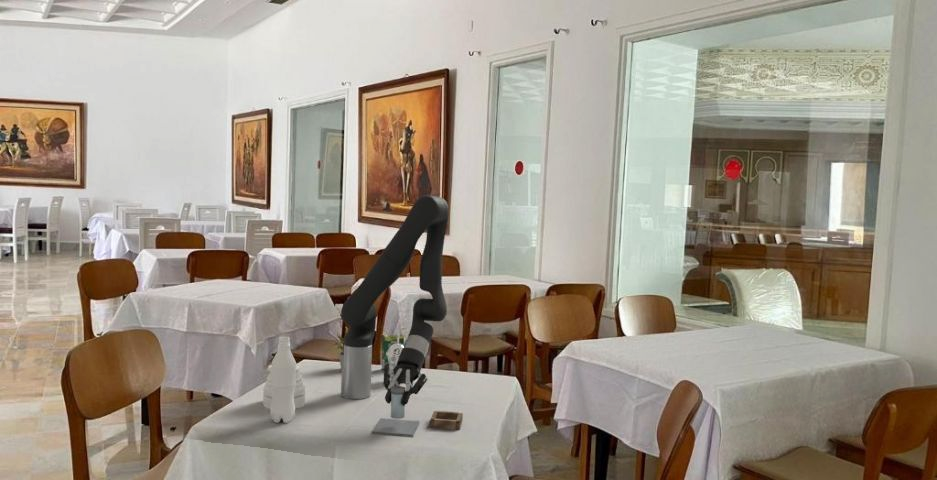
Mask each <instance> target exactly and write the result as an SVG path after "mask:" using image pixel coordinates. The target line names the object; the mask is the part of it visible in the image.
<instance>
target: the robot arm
mask: <svg viewBox="0 0 937 480" xmlns="http://www.w3.org/2000/svg"><path fill="white" fill-rule="evenodd" d="M449 209H450V208H449V205H448V202H447V201H446V200H445V199H444V198H443V197H442V196H441V197H440V196H438V195H437V196H436V195H430V194H426V195H421V196H420V197H418V199H417V200H415V202H414V204H412V206H411V209H410V210H409V212H408V214H407V216H406V218H405V219H404V221H403V222H402V224H401V226H400V228H399V229H398V230H397V231H396V233H395V234H394V235H393V237H392V238H391V240H389V242H388V243H387V245H386V247H385V248H384V249H383V250H382V252H381V253H380V255H379V256H378V257H377V259H376V261H375V262H374V264H373V265H372V267H370V269H369V271H368V273H367V274H366V275H365V277H364V279H363V280H362V281H361V283H360V284H359V285H358V287H357V288H356V289H355V290H354V291H353V292H352V294H351V295H350V296H349V297H348V298H347V299H346V300H345V301H344V303H343V304H342V307H341V310H340V315H341V320H342V321H343V323H345V324H346V325H347V326H349V328H348V332H347V334H346V335H345V334H344V338H343V340H344V346H343V347H344V365H343V368H342V370H341V377H340V379H341V383H340V387H341V388H340V397H341V398H346V399H350V400H351V399H353V400H359V399H360V400H363V399H367V398H369V397H371V392H372V390H371V389H372V363H373V361H372V359H373V340H374V336H375V334H376V321H377V307H376V303H375V302H376V301H377V300H378V299H379V297H380V296H381V295H382V294H383V293H384V292H385V291H387V290H388V289H389V288H390V287H391V286H392V285H393V284H394V283H395V282H397V280H399V279H400V277H401V276H402V275H403V273H404V272H405V271H406V269H407V267H408V266H409V265H410V262H411V261H412V260H413V256H414V253H415V249H416V246H417V243H418V241H419V240H420V238H421V236H422V235H423V234H424V233H425V232H426V239H425V245H424V248H423V252H422V255H421V258H420V263H419V284H418V285H419V288H420V290H421V291H424V292H427V293H429V294H430V296H431V298H425V297H424V298H419V299H417V300H416V301H415V302H414V304H413V308H412V319H411V320H412V321H411V326H412V327H411V328H410V330H409V333H408V335H407V337H406V340H404V346H403V348H402V351H401V353H400V356H399V358H398V361H397V365H396V367H395V368H394V369H393V370H388V369H385V370H383V385H382V386H383V387H384V388H385V390H386V394H385V396H384V400H385V402H386V404H390V405H391V387H394V386H401V385H402V384H404V385H405V391H404V394H403V396H402V399H401V405H402V406H405V407H406V405H407V404H408V402H409V401H410V398H411V395H418V394H419V393H420V391H421V389H422V388H423V387H424V385H425V383H427V381H428V378H427V375H426V374H425V373H421V370H422V368H423V366H424V362H425V360H426V358H427V354H428V351H429V347H430V344H431V340H432V338H433V335H434V326H432V325H431V324H430V323H428V322H441V321H444V319H445V318H446V316H447V313H448V312H447V311H448V309H447V308H448V307H447V303H446V299H445V295H444V290H443V286H442V284H443V281H442V278H443V276H442V275H443V256H444V255H443V253H444V252H443V251H444V245H445V238H446V237H445V236H446V230H447V225H448V219H449ZM393 374H394V375H395V376H394V377H393V379H392V382H390V381H391V379H390V378H391V377H392V375H393ZM416 380H417V381H416ZM415 381H416V382H415ZM414 382H415V383H414Z"/></svg>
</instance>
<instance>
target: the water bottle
mask: <svg viewBox="0 0 937 480" xmlns="http://www.w3.org/2000/svg"><path fill="white" fill-rule="evenodd" d="M278 341H279V342H278V344H277V347H278V346H279V349H278V348H277V352H276V353H275V356H274V357H273V359H272V361H271V364H270V365H271V367H272V368H271V369H272V374H271V389H272V403H271V407H270V409H269V410H270V411H269V414H270V417H271V419H272V421H273V422H274V423H276V424H279V423H280V422H281V420H282V421H283V423H284V424H287V423H290V422H291V421H293V419H294V418H295V414H296V409H295V404H294V390H295V386H296V381H295V376H296V364H297V362H296V360H295V358H294V357H295V356H294V355H293V352H292V350H291V342H290V336H279V338H278Z"/></svg>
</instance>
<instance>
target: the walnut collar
mask: <svg viewBox="0 0 937 480" xmlns="http://www.w3.org/2000/svg"><path fill="white" fill-rule="evenodd" d="M463 416H464V415H463V412H458V411H447V410H437V411H436V410H434V411H433V413H432V414H431V417H430V423H429V424H430V425H429V427H430V428H434V429H439V430H440V429H441V430H442V429H444V430H454V431H455V430H461V427H462V424H463Z"/></svg>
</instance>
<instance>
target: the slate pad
mask: <svg viewBox="0 0 937 480" xmlns="http://www.w3.org/2000/svg"><path fill="white" fill-rule="evenodd" d="M420 424H421V421H419V420H408V419H394V418H384V417H383V418H382V417H380V418H379V420H378V421H377V423H376V425H375V426H374V427H373V429H372V430H371V434H373V435H387V436H388V435H389V436H401V437H402V436H403V437H414V435H415V433H416V431H417V429H418V427H419V426H420Z"/></svg>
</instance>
